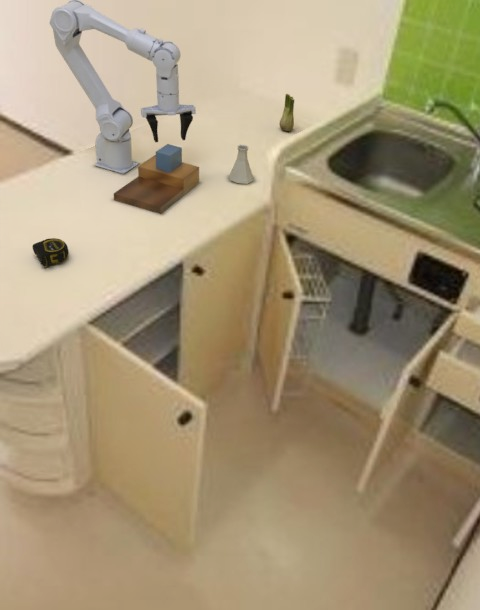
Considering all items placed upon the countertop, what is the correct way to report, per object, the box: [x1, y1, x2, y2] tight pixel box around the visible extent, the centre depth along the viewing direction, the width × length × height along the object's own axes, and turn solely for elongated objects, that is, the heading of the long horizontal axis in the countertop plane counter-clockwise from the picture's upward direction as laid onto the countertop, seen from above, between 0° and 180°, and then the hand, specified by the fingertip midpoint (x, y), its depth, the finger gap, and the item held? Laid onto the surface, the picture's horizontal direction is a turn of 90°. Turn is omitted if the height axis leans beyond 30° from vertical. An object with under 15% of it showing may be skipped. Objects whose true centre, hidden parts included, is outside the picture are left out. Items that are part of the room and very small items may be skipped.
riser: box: [113, 154, 200, 215], centre depth 175 cm, size 14×21×5 cm, turn 161°
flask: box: [228, 144, 254, 185], centre depth 186 cm, size 7×7×10 cm
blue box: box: [155, 143, 183, 173], centre depth 177 cm, size 4×6×5 cm
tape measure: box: [32, 237, 70, 267], centre depth 144 cm, size 7×7×4 cm
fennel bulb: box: [279, 93, 295, 132], centre depth 219 cm, size 6×5×12 cm
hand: (169, 139), depth 179 cm, fingers open, 7 cm apart
